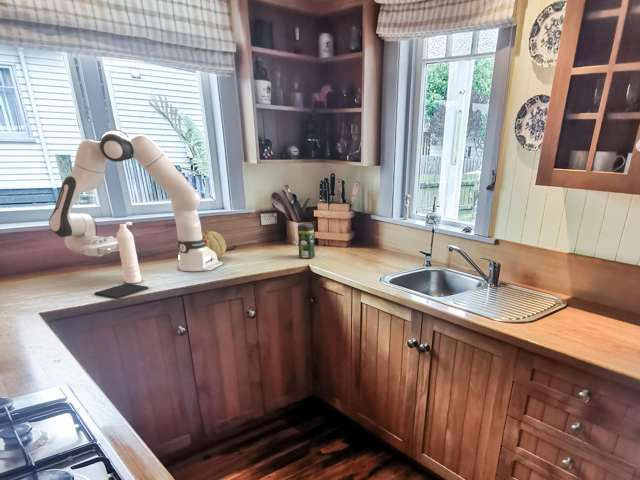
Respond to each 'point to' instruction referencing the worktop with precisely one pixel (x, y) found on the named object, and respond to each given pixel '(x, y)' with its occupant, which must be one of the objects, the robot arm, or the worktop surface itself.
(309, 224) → the pickle jar
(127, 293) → the mat
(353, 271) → the worktop surface
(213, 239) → the ribbed yellow melon
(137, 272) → the water bottle
